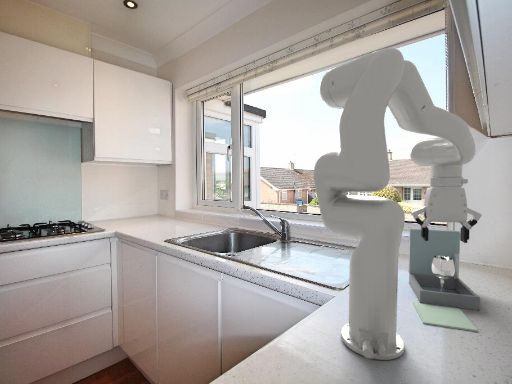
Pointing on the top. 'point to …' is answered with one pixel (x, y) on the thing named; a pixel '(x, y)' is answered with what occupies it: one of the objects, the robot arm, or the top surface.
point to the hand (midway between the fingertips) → (444, 240)
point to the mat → (443, 316)
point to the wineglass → (442, 268)
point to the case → (422, 274)
